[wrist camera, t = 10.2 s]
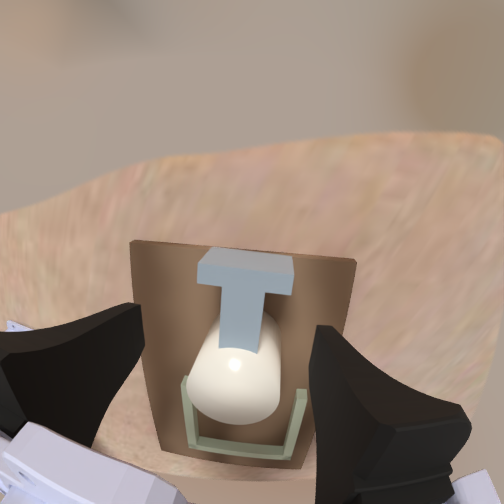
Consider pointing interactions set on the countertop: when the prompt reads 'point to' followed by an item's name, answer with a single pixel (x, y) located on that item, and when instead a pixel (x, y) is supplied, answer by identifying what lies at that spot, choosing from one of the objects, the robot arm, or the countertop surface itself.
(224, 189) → the countertop surface
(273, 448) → the cradle
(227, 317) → the white blue t-bar grip
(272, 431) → the board
